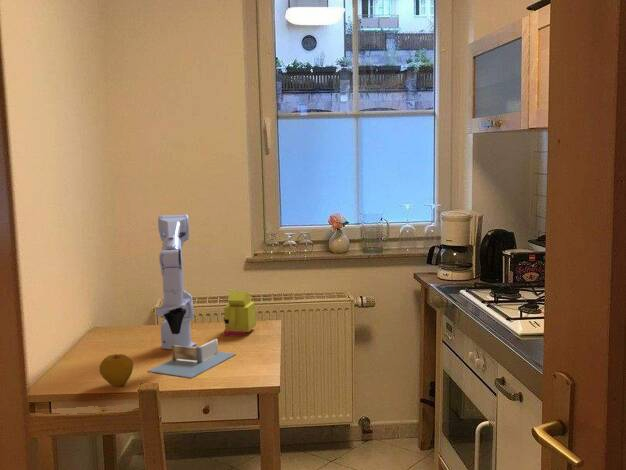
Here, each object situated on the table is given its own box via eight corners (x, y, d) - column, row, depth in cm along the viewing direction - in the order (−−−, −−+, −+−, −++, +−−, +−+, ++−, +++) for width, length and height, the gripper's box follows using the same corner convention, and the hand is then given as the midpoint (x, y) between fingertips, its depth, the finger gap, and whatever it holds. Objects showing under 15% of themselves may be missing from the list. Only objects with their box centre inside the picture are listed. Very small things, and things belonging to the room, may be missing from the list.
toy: (231, 326, 238) (229, 286, 236) (258, 327, 236) (256, 287, 234) (219, 337, 225) (217, 294, 223) (247, 337, 223) (245, 295, 221)
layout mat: (147, 371, 191) (147, 370, 191) (194, 349, 211) (194, 348, 211) (191, 378, 184) (191, 377, 184) (235, 354, 204) (235, 353, 204)
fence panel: (197, 361, 198) (196, 346, 198) (195, 362, 197) (194, 347, 196) (173, 358, 201) (172, 344, 201) (171, 360, 200) (170, 345, 199)
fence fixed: (196, 363, 197) (195, 347, 196) (215, 353, 206) (214, 338, 205) (200, 364, 196) (199, 348, 196) (219, 354, 205) (218, 339, 205)
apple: (93, 389, 178) (91, 357, 177) (114, 378, 186) (112, 348, 185) (120, 392, 175) (118, 360, 174) (140, 381, 183) (138, 350, 182)
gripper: (168, 295, 185) (171, 341, 187) (198, 285, 198) (200, 328, 200) (149, 293, 188) (152, 339, 190) (179, 283, 201) (181, 326, 203)
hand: (175, 333), depth 195 cm, fingers closed
